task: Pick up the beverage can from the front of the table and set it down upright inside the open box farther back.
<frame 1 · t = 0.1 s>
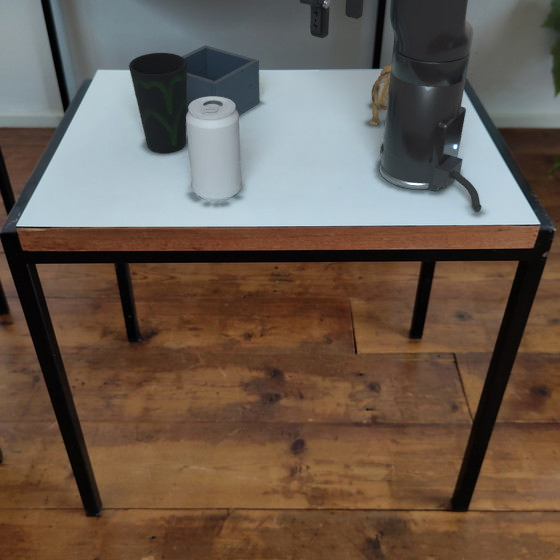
hand: (337, 26, 93), 17 cm above the table, tool pointing down, fingers open, 8 cm apart
beverage can: (217, 192, 95), on the table
lion figurine: (387, 116, 112), on the table
open box: (212, 106, 114), on the table
cup: (166, 145, 104), on the table
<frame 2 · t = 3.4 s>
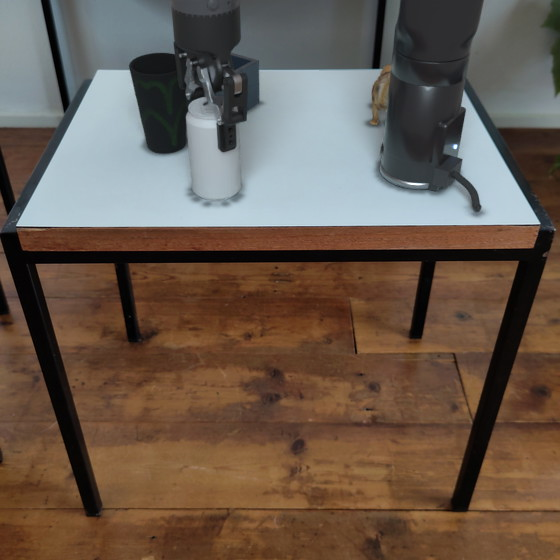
hand: (213, 137, 90), 8 cm above the table, tool pointing down, fingers closed on beverage can, 6 cm apart
beverage can: (217, 192, 95), on the table, touching gripper
everything else where it was.
when the fingers open (9 cm above the table, at t = 12.0 s): beverage can stays where it is, resting on open box.
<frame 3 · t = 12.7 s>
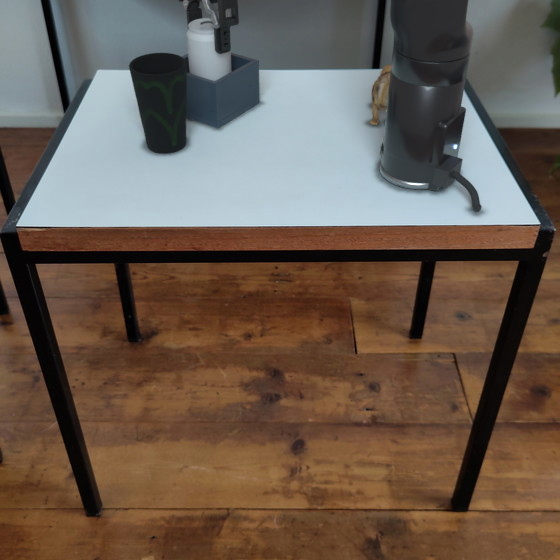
hand: (209, 43, 107), 10 cm above the table, tool pointing down, fingers open, 8 cm apart
beverage can: (212, 102, 113), point 1 cm above the table, touching open box
everything else where it was.
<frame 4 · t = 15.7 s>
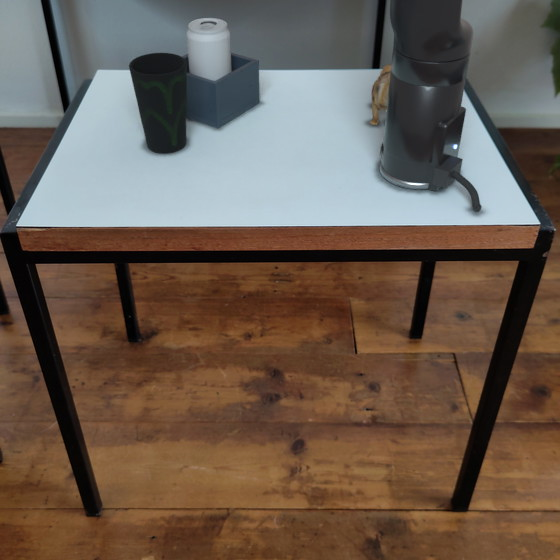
nothing on the table moved.
at the end: beverage can inside the target area in the open box (0.1 cm from its centre), point 0.8 cm above the open box's base; beverage can tilted 0°; the gripper is holding nothing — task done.
